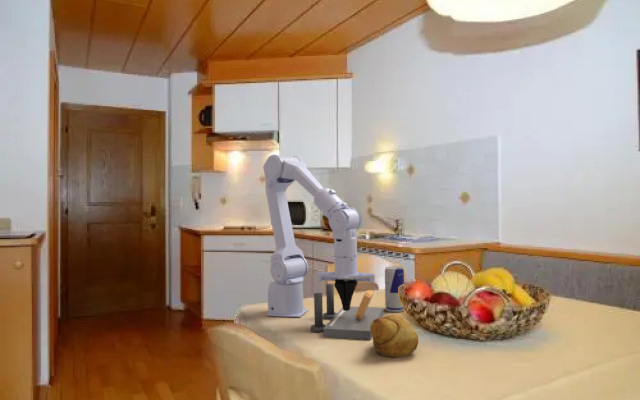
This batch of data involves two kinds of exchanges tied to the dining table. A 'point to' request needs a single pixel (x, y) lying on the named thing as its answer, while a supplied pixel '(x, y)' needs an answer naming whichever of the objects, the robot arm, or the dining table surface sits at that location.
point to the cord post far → (329, 302)
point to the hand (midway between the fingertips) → (346, 309)
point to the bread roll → (393, 336)
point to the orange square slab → (364, 305)
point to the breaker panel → (352, 324)
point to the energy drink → (393, 288)
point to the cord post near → (318, 314)
